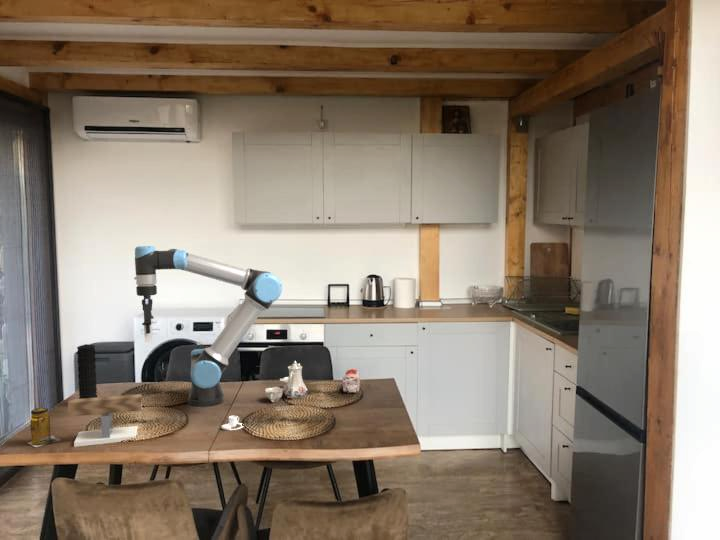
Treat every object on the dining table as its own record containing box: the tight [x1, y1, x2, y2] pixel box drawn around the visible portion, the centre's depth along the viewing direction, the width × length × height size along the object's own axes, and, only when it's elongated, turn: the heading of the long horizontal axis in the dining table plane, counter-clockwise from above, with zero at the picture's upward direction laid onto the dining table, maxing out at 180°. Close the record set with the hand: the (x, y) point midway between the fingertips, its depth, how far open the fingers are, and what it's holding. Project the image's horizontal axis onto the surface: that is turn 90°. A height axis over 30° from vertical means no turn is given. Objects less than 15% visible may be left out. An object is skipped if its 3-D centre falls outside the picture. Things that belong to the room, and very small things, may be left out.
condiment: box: [27, 407, 60, 448], centre depth 205 cm, size 7×8×12 cm
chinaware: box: [263, 360, 308, 403], centre depth 259 cm, size 28×17×17 cm, turn 171°
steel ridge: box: [100, 413, 113, 439], centre depth 209 cm, size 2×9×8 cm, turn 18°
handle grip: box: [76, 343, 98, 399], centre depth 246 cm, size 10×26×10 cm
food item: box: [342, 368, 361, 393], centre depth 267 cm, size 14×8×10 cm, turn 179°
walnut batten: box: [67, 393, 143, 418], centre depth 208 cm, size 24×4×5 cm, turn 105°
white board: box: [73, 425, 139, 448], centre depth 209 cm, size 20×11×2 cm, turn 107°
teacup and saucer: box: [221, 415, 244, 431], centre depth 220 cm, size 9×8×4 cm
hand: (148, 338), depth 231 cm, fingers open, 13 cm apart
